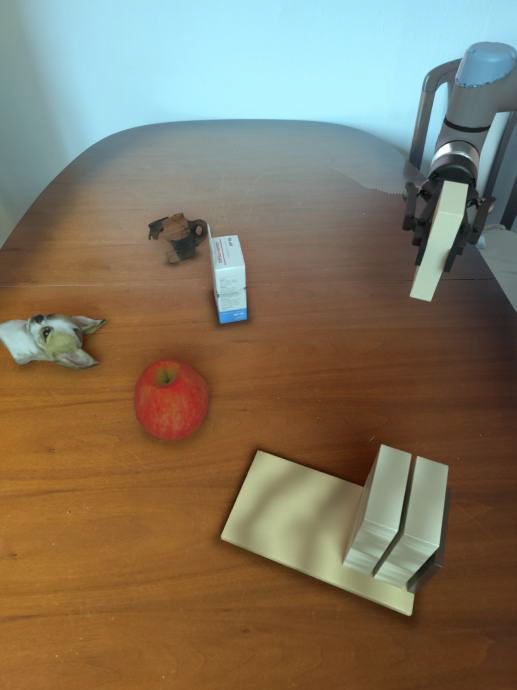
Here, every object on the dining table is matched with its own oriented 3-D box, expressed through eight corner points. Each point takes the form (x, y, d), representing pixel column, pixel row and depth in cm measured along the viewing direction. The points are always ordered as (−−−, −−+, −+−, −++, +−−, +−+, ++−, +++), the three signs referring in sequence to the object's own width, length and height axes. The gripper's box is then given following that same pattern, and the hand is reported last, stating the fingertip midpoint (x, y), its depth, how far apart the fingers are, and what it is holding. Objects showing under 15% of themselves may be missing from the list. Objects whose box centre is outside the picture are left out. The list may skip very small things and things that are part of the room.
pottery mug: (156, 270, 87) (139, 228, 84) (164, 260, 96) (148, 222, 93) (214, 250, 86) (199, 208, 83) (217, 242, 95) (204, 203, 92)
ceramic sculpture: (-1, 292, 69) (100, 290, 70) (18, 331, 75) (110, 328, 77) (-23, 345, 62) (90, 341, 63) (1, 383, 68) (102, 378, 70)
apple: (215, 389, 68) (209, 342, 60) (207, 451, 61) (199, 407, 53) (147, 387, 68) (132, 340, 60) (132, 448, 61) (113, 405, 53)
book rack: (424, 512, 55) (466, 453, 44) (409, 616, 48) (455, 577, 37) (257, 453, 61) (257, 387, 49) (221, 539, 53) (210, 484, 42)
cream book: (437, 268, 70) (468, 184, 59) (430, 301, 65) (463, 215, 54) (417, 264, 70) (444, 179, 60) (409, 296, 65) (437, 210, 55)
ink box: (247, 320, 77) (245, 250, 66) (219, 324, 77) (212, 254, 66) (240, 288, 83) (237, 218, 72) (213, 291, 82) (206, 221, 71)
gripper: (496, 206, 74) (489, 297, 59) (396, 188, 77) (367, 269, 63) (515, 162, 68) (513, 250, 53) (407, 145, 72) (378, 222, 57)
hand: (434, 260), depth 58 cm, fingers closed on cream book, 3 cm apart
